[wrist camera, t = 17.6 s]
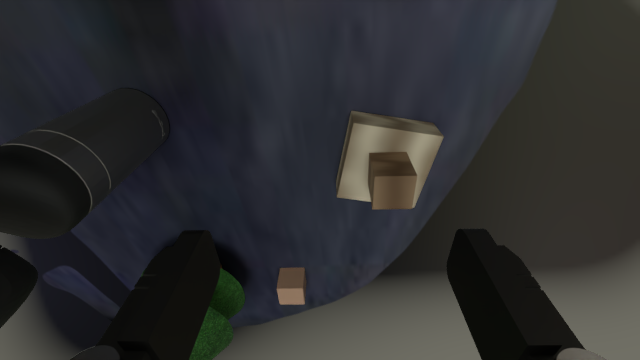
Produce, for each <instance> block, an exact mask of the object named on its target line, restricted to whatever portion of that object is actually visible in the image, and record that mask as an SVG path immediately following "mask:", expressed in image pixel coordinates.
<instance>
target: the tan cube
mask: <svg viewBox="0 0 640 360" xmlns="http://www.w3.org/2000/svg"><path fill="white" fill-rule="evenodd" d="M277 293H278V298H279V302H280V304H305V294H306V277H305V268H280V272H279V278H278V284H277Z"/></svg>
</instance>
